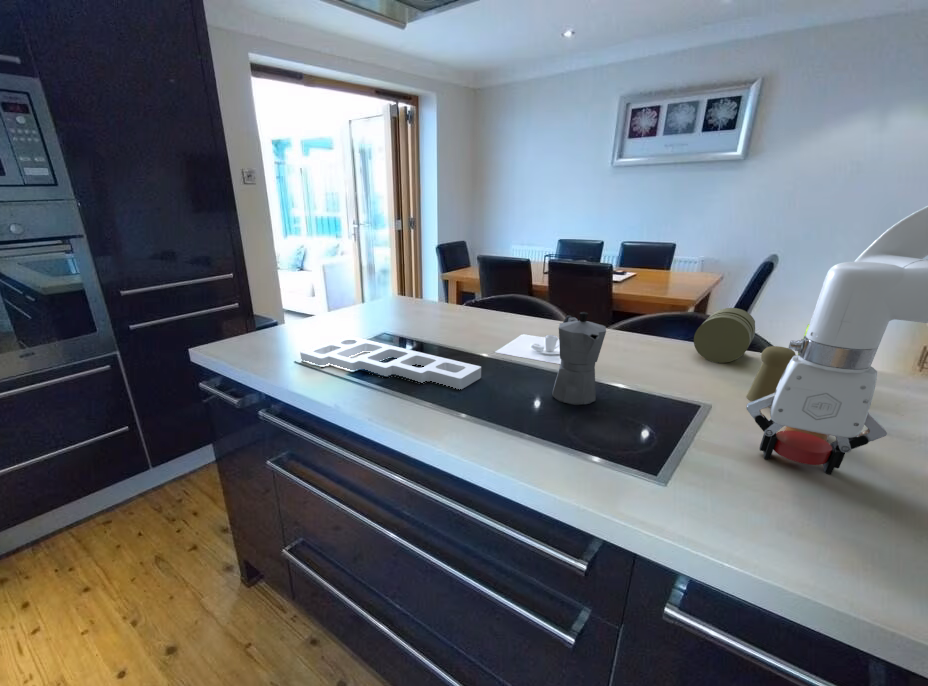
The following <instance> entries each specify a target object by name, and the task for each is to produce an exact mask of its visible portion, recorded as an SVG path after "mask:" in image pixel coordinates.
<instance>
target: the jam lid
mask: <svg viewBox="0 0 928 686" xmlns="http://www.w3.org/2000/svg"><path fill="white" fill-rule="evenodd" d="M776 437H777V440H776V443H775V446H774V449H773V451H774V452H775V453H776V454H777V455H779V456H781V457H783V458H785V459H786V460H787V459H788V460H790V461H792V462H795V463H799V464H805V465H810V466H821V465H822V466H823V464H825V463H827V461H828V459H829V456H830V454H831V452H832V446H831V445H830V444H831V443H829V442H828V441H825V440H823V439H821V438H819V437H816V436H813V435H810V434H807V433H803V432H798V431H785V430H779V431H777V432H776Z"/></svg>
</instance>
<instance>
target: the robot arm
mask: <svg viewBox="0 0 928 686" xmlns="http://www.w3.org/2000/svg"><path fill="white" fill-rule="evenodd" d="M927 256H928V205H926V206H924V207H922V208H920V209H918V210H916V211H914V212H913V213H911V214H909V215H907V216H905V217H904V218H902V219H901V220H899V221H897V222H896V223H894V224H893V225H892V226H890V227H889V228H888V229H886V230H885V231H884V232H883V233H882V234H881V235H879V236H878V237H877V238H876V239H875V240H874V241H873V242H872V243H871V244H870V245H869V246H868V247H867V248H865V250H863V252H862V253H860V254H859V255H858V256H857V258H855V260H854V261H844V262H839V263H836V264H834V265H832V266H831V267H830V268H829V269H828V271H827V273H826V274H825V277H824V280H823V283H822V286H821V289H820V292H819V295H818V297H817V301H816V305H815V306H814V310H813V312H812V315H811V319H810V322H809V327H808V330H807V333H806V336H804V335H803V338H804V339H803V338H801V339H800V340H799V339H798V340H792V339H791V340H790V342H789V344H788V347H787V348H788V349H791V350H793V351H794V352H797V354H796V355H795V356H793V357H792V359H791V360H790V362H789V364H788V365H787V367H786V369H785V371H784V373H783V375H782V377H781V379H780V381H779V383H778V386H777V388H776V390H775V393H773V394H770V395H768V396H765V397H763V398H760V399H758V400H755V401H749V402H748V403H746V411H747V412H748V413H749V415H750V416H751V417H752V419H753V420H754V423H756V424H757V425H758V427H759V428H760V430H761V431H762V432H763V436H762V438H761V441H760V444H759V451H760V452H763V459H764V460H771V458H772V454H773V451H774V450H773V449H774V446H775V443H776V440H777V437H776V433H777V432H780V431H781V430H782V428H785V426H787V427H792V428H797V429H801V430H806V431H811V432H816V433H821V434H826V435H830V436H831V437H835V440H834V441H832V443H829V444H830V445H831V446H832V452H831V454H830V456H829V459H828V461H827V463H825V464H822V468H823V472H824V473H825V474H827V475H832V474H833V472H834V470H835V469H840V467H841V465H842V462H843V460H844V458H845V455H846V453H850V452H851V451H852V450H853V449H854V450H855V449H856V448H859V447H862V446H866V445H868V444H869V443H870V442H874V441H877V440H879V439H882V438H884V437H886V436H887V435H888V433H887V431H886V429H885V427H883V425H882V424H880V422H878V420H877V419H876V418H875V417H874V416H873V415H872V414H871V413H869V412H870V408H871V405H872V401H873V398H874V395H875V389H876V385H877V380H878V379H877V377H878V370H877V369H876V368H874V367H873V366H872V364H873V362H874V360H875V357H876V355H877V352H878V349H879V347H880V345H881V342H882V339H883V337H884V335H885V332H886V330H887V327H888V324H889V322H891V321H894V320H897V321H905V322H914V323H923V324H928V259H925V257H927ZM798 353H799V355H798ZM768 407H769V410H770V411H769V416H770V418H769V419H768V418H767V416H766V415H765V414H764V413H763V412H762V409H765V408H766V409H767V408H768ZM864 426H865V427H866V428H867V429H866V430H863V428H864ZM862 430H863V431H862Z"/></svg>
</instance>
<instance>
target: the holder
mask: <svg viewBox="0 0 928 686" xmlns="http://www.w3.org/2000/svg"><path fill="white" fill-rule="evenodd" d="M362 351H372V352H370V353H363V354H361V355H358V356H355V357H352V358H348V357H349V356H351V355H355V354H357V353H360V352H362ZM299 353H300V360H301V359H302V360H305V361H309V362H312V363H315V364H318V365H326V364H328V363H330V364H333V365H337V366H340V367H343V368H347V369H350V370H356V369H359V368H361V369H365V370H368V371H371V372H374V373H378V374H380V375H384V376H388V375H391V374H396V375H399V376H403V377H406V378H409V379H412V380H415V381H418V382H421V383H423V382H425V381H427V382H430V381H432V382H431V383H433V382H436V383H435V384H437V383H439V384H438V385H440V384H443V385H442V386H444V385H446V386H445V387H448V386H450V387H449V388H451V387H453V388H452V389H455V388H456V389H455V390H458V389H459V390H460V389H461V390H463V389H464V388H467V387H468V386H470V385H472V384H473V383H475V382H476V381H478V380H480V379H481V378H482V366H480V365H476V364H471V363H468V362H464V361H458V360H455V359H451V358H446V357H442V356H437V355H433V354H430V353H425V352H421V351H416V350H412V349H407V348H404V347H399V346H395V345H391V344H387V343H384V342H383V343H382V342H378V341H374V340H371V339H365V338H361V337H357V336H354V335H353V336H352V335H347V336H345V337H342V338H338V339H335V340H332V341H330V342H329V341H328V342H325V343H323V344H320V345H317V346H314V347H311V348H308V349H304V350H302V351H299ZM388 357H394V358H397V359H391V360H390V361H388V362H379V361H380V360H383V359H386V358H388ZM415 364H417V365H416V366H412V365H415ZM418 365H421V366H420V367H418ZM422 366H424V367H422ZM425 383H426V382H425ZM423 384H424V383H423Z"/></svg>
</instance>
